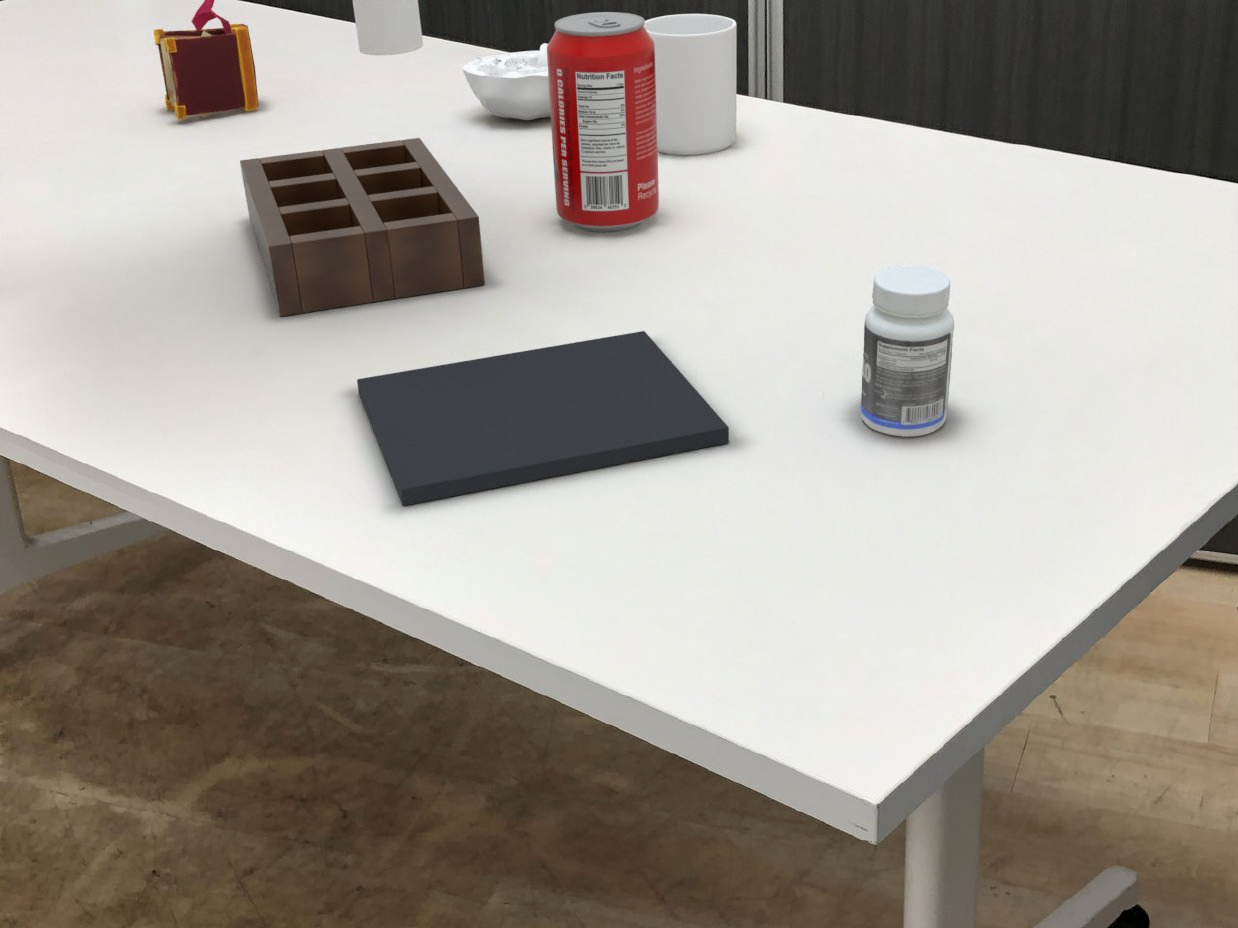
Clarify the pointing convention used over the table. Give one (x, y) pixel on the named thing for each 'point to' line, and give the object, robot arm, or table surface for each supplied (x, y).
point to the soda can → (603, 121)
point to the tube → (387, 26)
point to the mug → (694, 82)
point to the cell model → (512, 84)
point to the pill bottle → (907, 351)
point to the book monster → (207, 67)
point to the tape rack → (360, 226)
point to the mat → (534, 416)
